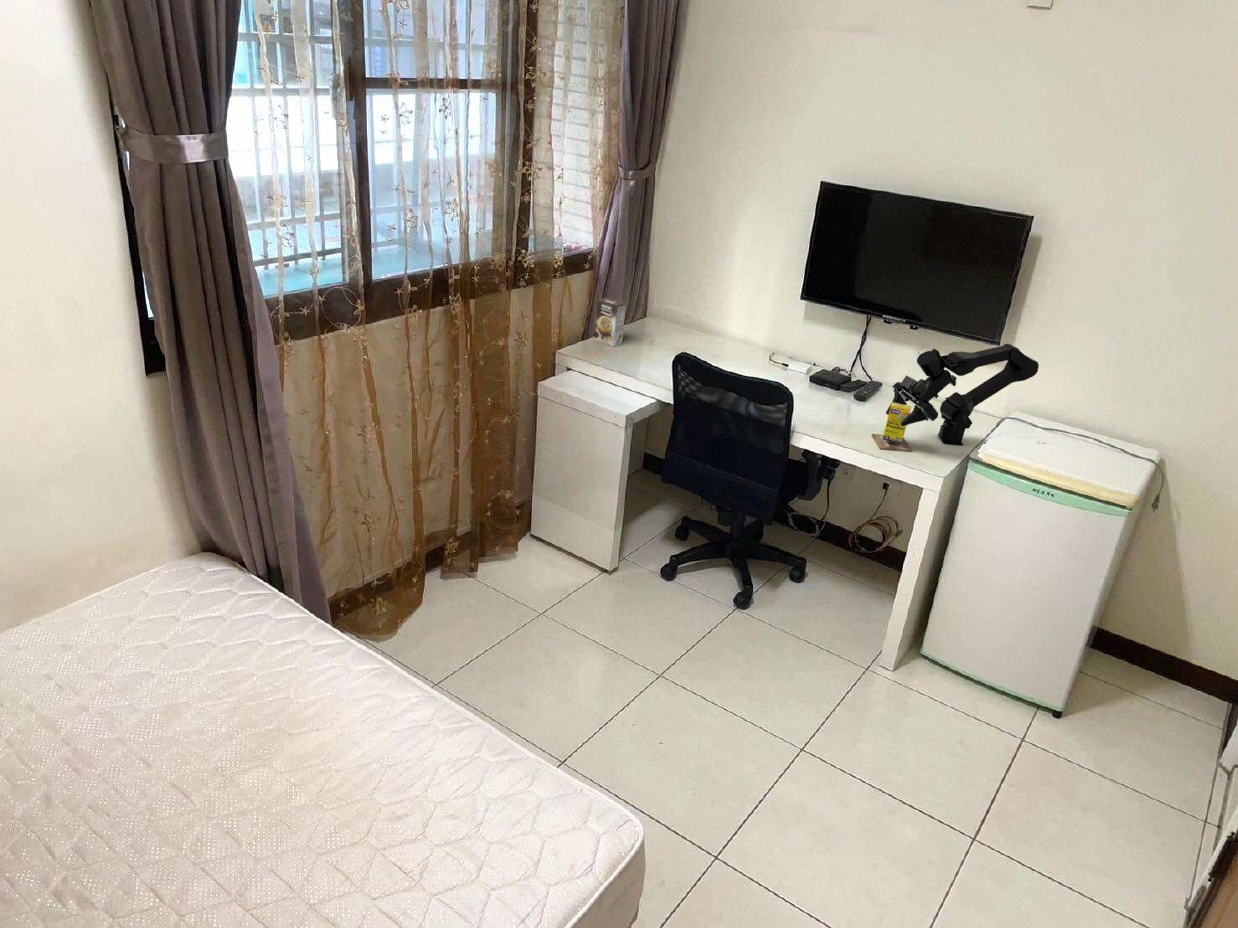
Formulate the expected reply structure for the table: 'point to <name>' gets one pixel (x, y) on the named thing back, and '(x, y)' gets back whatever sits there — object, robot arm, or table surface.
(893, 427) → the supplement box
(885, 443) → the pad
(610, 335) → the coffee box
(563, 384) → the table surface
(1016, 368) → the robot arm
